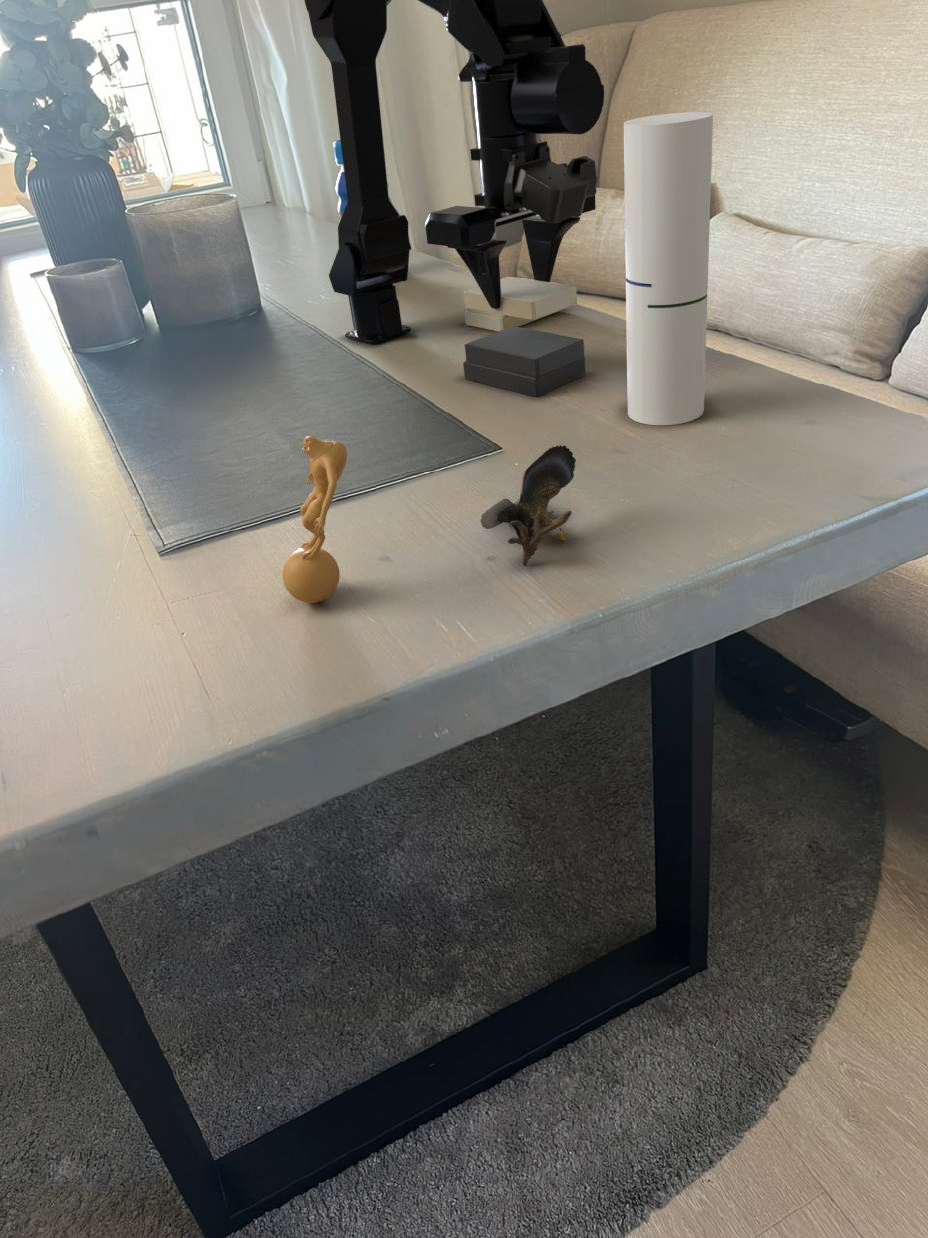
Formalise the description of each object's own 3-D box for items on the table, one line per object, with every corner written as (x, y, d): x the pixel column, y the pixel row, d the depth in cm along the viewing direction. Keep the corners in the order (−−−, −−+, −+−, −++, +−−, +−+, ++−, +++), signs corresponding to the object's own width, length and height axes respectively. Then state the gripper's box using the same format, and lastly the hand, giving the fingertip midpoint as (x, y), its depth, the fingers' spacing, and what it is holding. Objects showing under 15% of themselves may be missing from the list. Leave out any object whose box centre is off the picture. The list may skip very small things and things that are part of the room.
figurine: (285, 576, 70) (249, 424, 64) (364, 561, 71) (336, 409, 65) (292, 634, 63) (252, 471, 57) (379, 616, 64) (349, 453, 58)
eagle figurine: (604, 549, 66) (599, 475, 73) (544, 483, 63) (544, 411, 69) (519, 597, 70) (521, 522, 76) (457, 537, 66) (464, 464, 73)
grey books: (464, 379, 104) (460, 343, 102) (513, 359, 108) (510, 324, 106) (536, 397, 97) (533, 359, 95) (586, 375, 101) (584, 338, 99)
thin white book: (464, 308, 100) (463, 290, 99) (509, 292, 103) (507, 276, 102) (532, 320, 93) (531, 302, 92) (577, 303, 97) (576, 285, 96)
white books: (503, 332, 118) (501, 303, 116) (465, 325, 122) (462, 296, 120) (561, 310, 123) (560, 282, 121) (522, 304, 128) (520, 277, 126)
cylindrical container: (656, 393, 94) (657, 112, 81) (718, 405, 90) (730, 110, 76) (612, 416, 90) (605, 125, 77) (674, 430, 86) (679, 124, 72)
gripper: (495, 150, 79) (509, 334, 88) (636, 117, 89) (637, 286, 98) (412, 149, 87) (433, 319, 95) (551, 119, 97) (559, 275, 105)
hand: (519, 299), depth 98 cm, fingers closed on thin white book, 7 cm apart
